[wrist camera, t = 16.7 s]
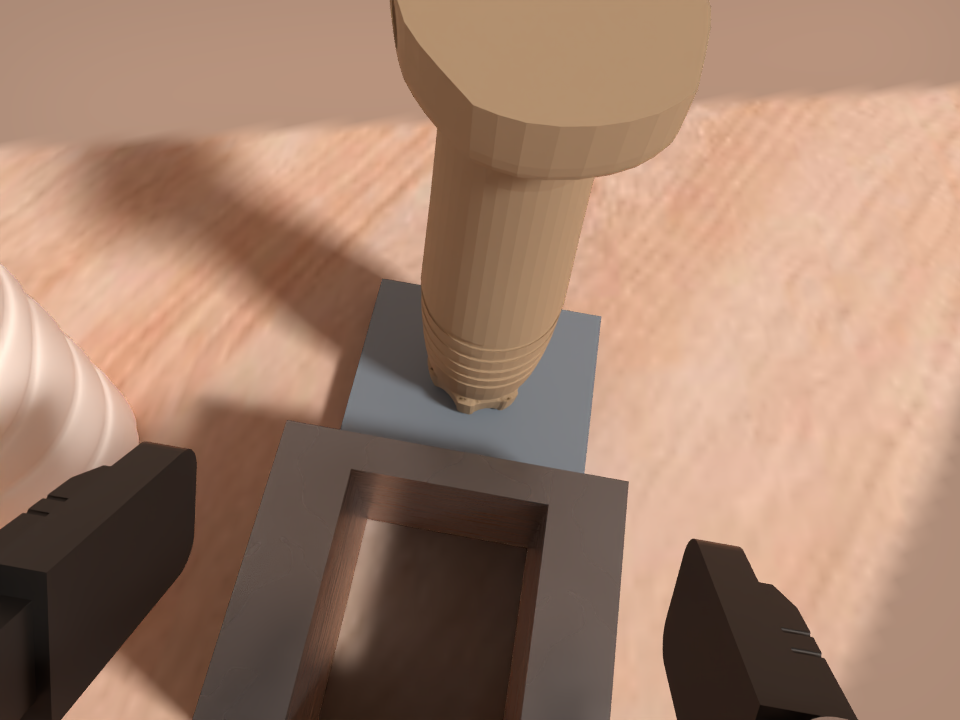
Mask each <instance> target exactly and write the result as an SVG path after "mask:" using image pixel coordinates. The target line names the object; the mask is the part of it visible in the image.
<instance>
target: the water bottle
mask: <svg viewBox="0 0 960 720" xmlns="http://www.w3.org/2000/svg"><path fill="white" fill-rule="evenodd" d="M136 426H137V423H136V418H135V415H134V413H133V410H132V408H131V406H130V405H129V403H128V401H127V400H126V398H125V397H124V395H123V394H122V393H121V392H120V390H119V389H118V388H117V387H116V386H115V385H114V384H113V383H112V382H111V381H110V379H109V377H108V376H107V375H106V374H105V373H104V372H102V371H101V370H100V369H99V368H98V367H97V366H96V365H95V364H94V363H93V362H91V360H90V358H89V357H88V356H87V354H86V353H85V352H84V351H83V350H82V349H81V348H80V347H79V346H78V345H77V344H76V343H75V342H74V341H73V340H72V339H71V338H70V337H69V336H68V335H66V334H65V333H64V332H63V331H62V330H61V329H60V327H59V325H58V324H57V322H56V321H55V320H54V319H53V317H52V316H51V315H50V314H49V313H48V312H47V311H46V310H45V309H44V308H43V307H42V306H41V305H40V304H39V303H38V302H36V301H35V300H34V299H33V298H32V297H31V296H29V295H28V294H27V293H25V292H24V290H23V287H22V285H21V284H20V282H19V281H18V280H17V279H16V277H15V276H14V275H13V274H12V273H11V272H10V271H9V270H8V269H6V268H5V267H4V266H3V265H2V264H1V263H0V529H1V528H3V527H4V526H5V525H7V524H8V523H9V522H11V521H12V520H13V519H15V518H16V517H18V516H19V515H20V514H22V513H27V511H28V509H29V508H30V507H31V506H33V505H34V504H35V503H37V502H38V501H40V500H41V499H42V498H45V499H46V498H47V495H48V494H49V493H50V492H52V491H53V490H55V489H56V488H57V487H59V486H60V485H61V484H63V483H64V482H66V481H67V480H68V479H70V478H71V477H74V476H76V475H79V474H82V473H84V472H87V471H90V470H92V469H95V468H98V467H100V466H103V465H106V466H112V465H113V464H114V463H116V462H117V461H118V460H120V459H121V458H122V457H123V456H125V455H126V454H127V453H129V452H130V451H131V450H133V449H134V448H135V447H136V446H138V445H139V436H138V431H137V428H136Z"/></svg>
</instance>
